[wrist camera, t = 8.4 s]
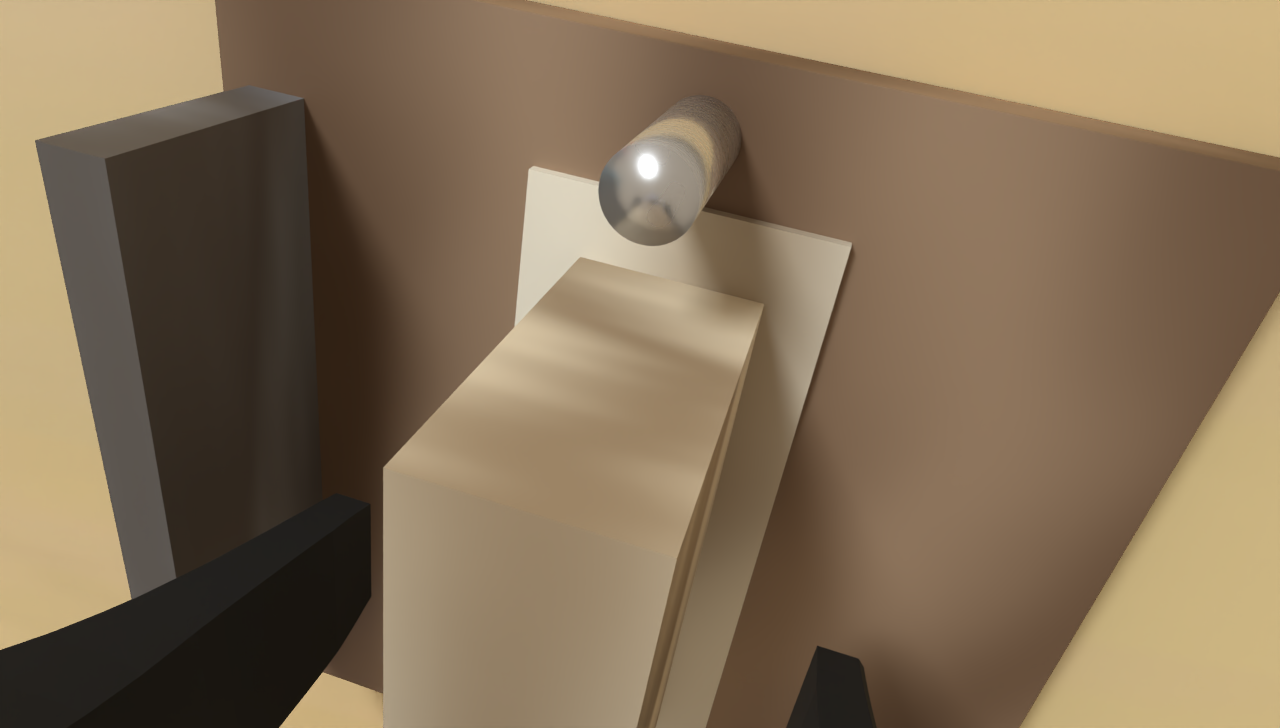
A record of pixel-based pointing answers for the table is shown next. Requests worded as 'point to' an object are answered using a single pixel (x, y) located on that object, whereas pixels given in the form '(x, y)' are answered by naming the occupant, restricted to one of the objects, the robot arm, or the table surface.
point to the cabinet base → (703, 257)
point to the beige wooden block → (562, 509)
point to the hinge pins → (669, 171)
